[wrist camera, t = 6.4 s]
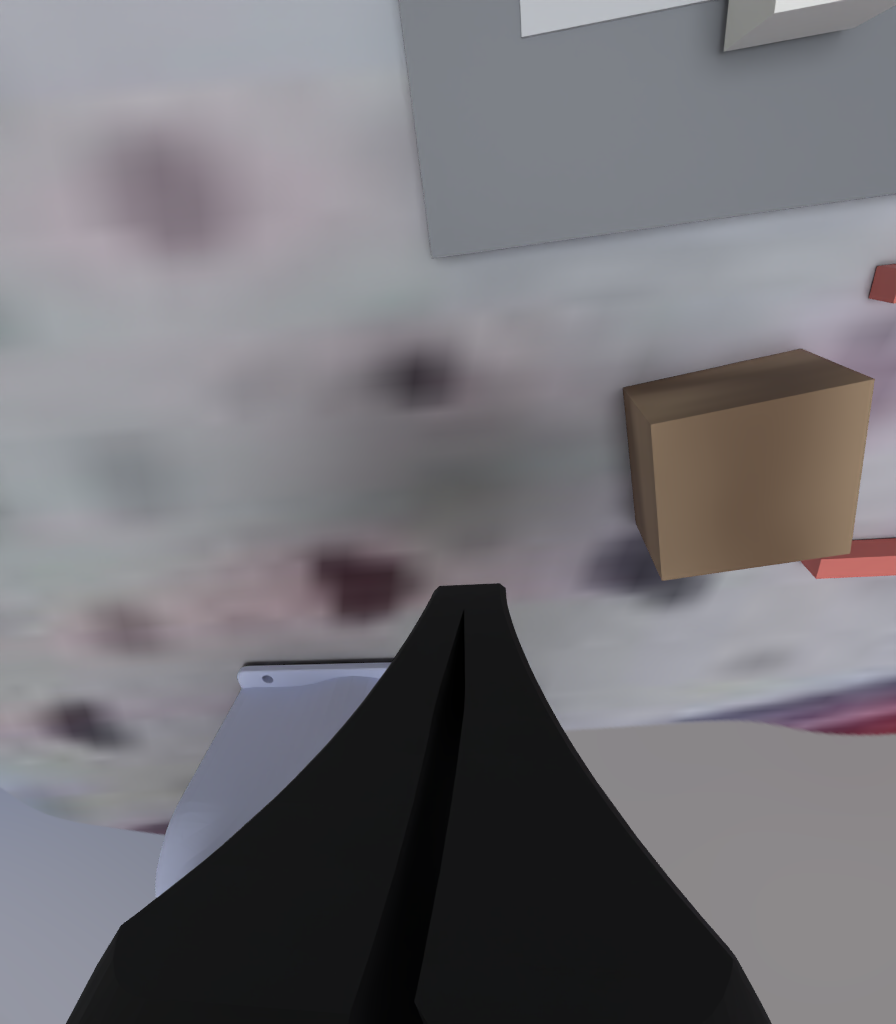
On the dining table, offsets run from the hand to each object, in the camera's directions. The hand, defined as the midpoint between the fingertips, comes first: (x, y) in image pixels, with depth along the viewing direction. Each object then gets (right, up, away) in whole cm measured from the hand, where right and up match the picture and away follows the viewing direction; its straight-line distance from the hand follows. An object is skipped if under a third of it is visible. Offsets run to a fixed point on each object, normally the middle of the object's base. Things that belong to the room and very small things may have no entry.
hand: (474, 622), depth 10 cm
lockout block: (+8, +5, +6) cm, 11 cm away
